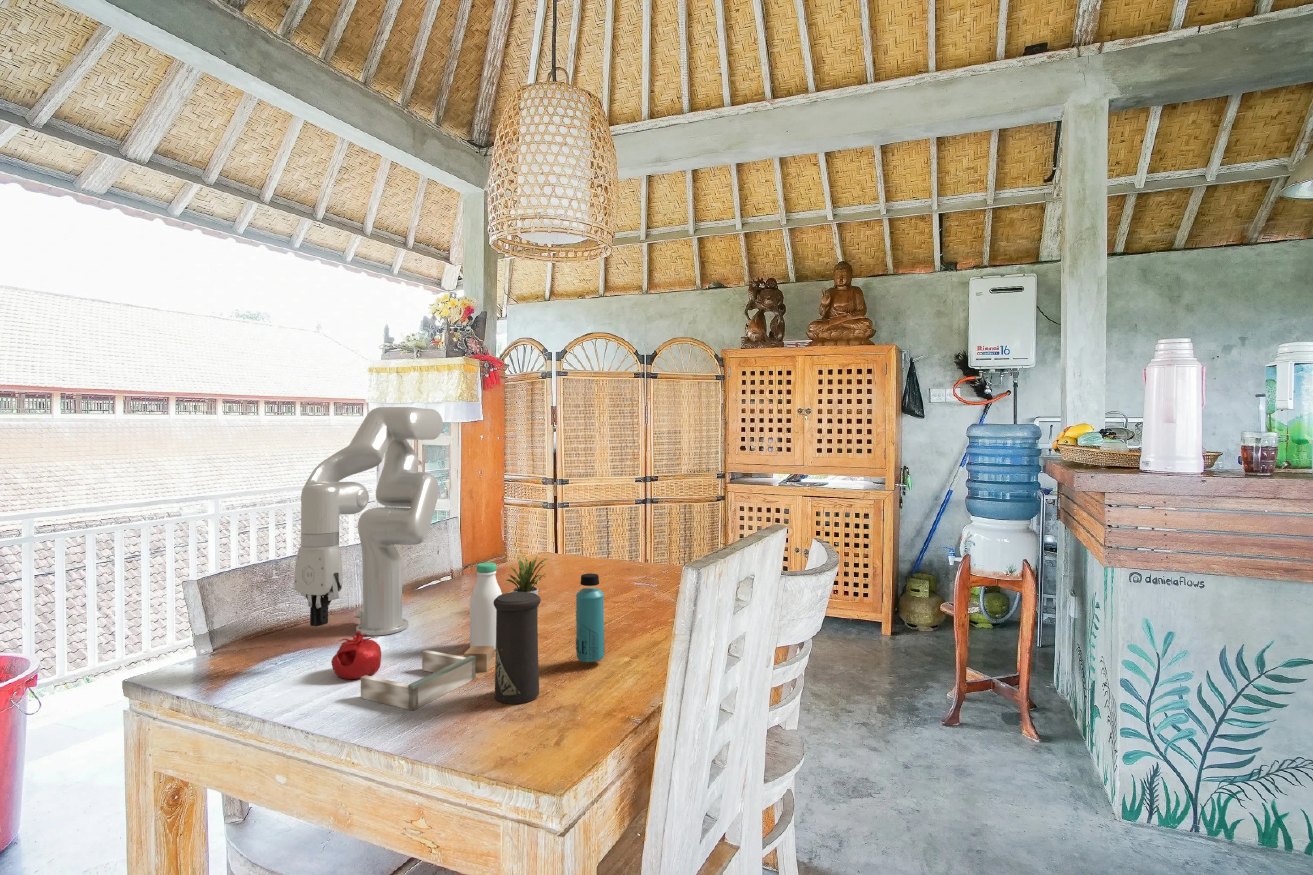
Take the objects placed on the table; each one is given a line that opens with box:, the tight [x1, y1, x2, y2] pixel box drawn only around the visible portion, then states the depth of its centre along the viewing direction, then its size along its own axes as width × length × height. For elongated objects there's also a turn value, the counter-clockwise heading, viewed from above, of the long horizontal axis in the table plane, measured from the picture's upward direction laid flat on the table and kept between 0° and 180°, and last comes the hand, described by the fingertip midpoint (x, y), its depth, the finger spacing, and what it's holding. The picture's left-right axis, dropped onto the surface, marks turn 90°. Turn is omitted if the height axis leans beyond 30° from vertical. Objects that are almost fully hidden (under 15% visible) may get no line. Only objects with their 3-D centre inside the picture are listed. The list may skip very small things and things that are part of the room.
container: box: [494, 591, 541, 705], centre depth 128 cm, size 9×9×20 cm
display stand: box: [360, 649, 477, 711], centre depth 132 cm, size 14×17×5 cm
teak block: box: [463, 646, 495, 673], centre depth 143 cm, size 5×5×4 cm
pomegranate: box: [330, 631, 382, 680], centre depth 139 cm, size 10×10×9 cm
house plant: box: [503, 553, 551, 596], centre depth 187 cm, size 14×14×16 cm
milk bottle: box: [469, 562, 503, 652], centre depth 156 cm, size 8×8×20 cm
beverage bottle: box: [575, 572, 606, 663], centre depth 145 cm, size 6×7×20 cm
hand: (319, 624), depth 143 cm, fingers closed
